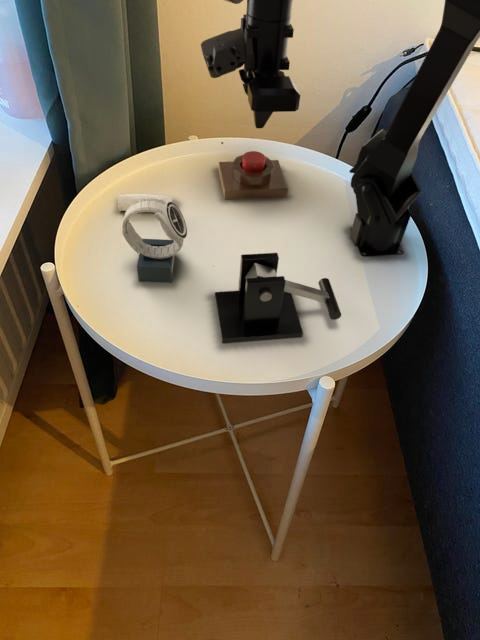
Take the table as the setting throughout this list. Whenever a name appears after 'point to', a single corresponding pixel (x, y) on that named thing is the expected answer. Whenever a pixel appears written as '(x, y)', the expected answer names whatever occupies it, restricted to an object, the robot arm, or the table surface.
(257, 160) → the button
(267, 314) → the bracket
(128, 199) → the white curved plate
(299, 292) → the lever
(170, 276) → the watch
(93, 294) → the table surface
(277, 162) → the button block
